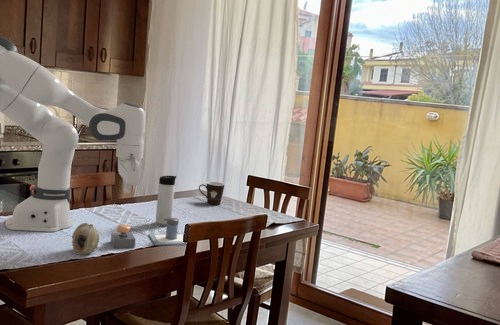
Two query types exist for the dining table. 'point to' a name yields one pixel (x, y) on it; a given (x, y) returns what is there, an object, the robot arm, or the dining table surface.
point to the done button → (123, 229)
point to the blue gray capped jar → (172, 228)
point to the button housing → (122, 240)
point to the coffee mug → (213, 192)
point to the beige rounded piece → (85, 239)
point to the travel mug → (165, 199)
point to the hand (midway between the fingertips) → (126, 192)
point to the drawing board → (161, 239)
